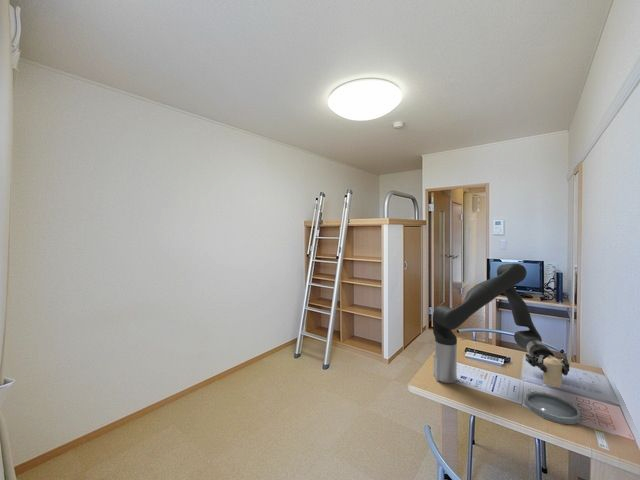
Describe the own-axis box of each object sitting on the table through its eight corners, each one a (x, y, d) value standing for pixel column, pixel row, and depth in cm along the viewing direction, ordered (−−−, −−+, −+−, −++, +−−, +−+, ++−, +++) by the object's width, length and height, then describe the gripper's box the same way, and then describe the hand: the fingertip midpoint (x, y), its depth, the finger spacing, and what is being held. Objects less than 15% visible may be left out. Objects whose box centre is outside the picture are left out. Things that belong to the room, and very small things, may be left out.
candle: (563, 389, 104) (563, 362, 104) (544, 385, 107) (544, 359, 107) (560, 382, 109) (560, 356, 108) (542, 378, 112) (542, 353, 111)
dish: (542, 422, 101) (542, 416, 101) (517, 395, 117) (517, 391, 117) (592, 425, 99) (592, 420, 99) (560, 398, 115) (560, 393, 115)
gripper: (519, 341, 123) (532, 358, 108) (560, 346, 118) (580, 364, 102) (519, 358, 124) (531, 377, 108) (560, 363, 118) (579, 385, 103)
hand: (555, 371), depth 105 cm, fingers closed on candle, 5 cm apart
